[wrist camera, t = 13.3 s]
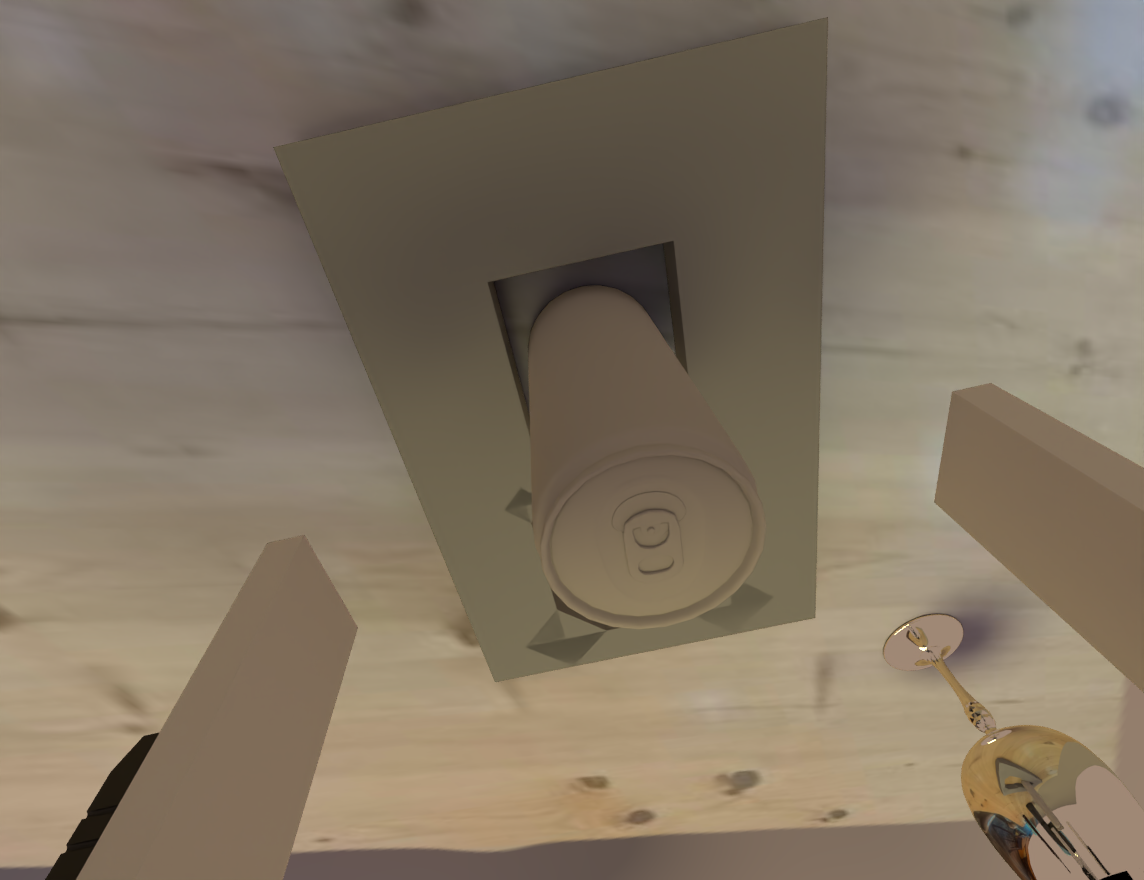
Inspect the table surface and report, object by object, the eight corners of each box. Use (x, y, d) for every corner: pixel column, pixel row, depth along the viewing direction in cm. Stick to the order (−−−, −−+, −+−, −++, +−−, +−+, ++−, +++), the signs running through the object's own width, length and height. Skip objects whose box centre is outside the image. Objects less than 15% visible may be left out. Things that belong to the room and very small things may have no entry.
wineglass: (882, 689, 34) (1044, 944, 23) (861, 630, 31) (1035, 889, 20) (979, 653, 33) (1195, 903, 22) (967, 590, 30) (1206, 839, 19)
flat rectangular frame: (295, 145, 18) (273, 147, 16) (800, 27, 17) (828, 17, 16) (496, 652, 29) (495, 682, 28) (799, 591, 29) (815, 617, 27)
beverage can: (645, 268, 20) (773, 419, 10) (659, 388, 23) (774, 611, 12) (515, 295, 21) (507, 471, 10) (541, 411, 23) (558, 652, 12)
